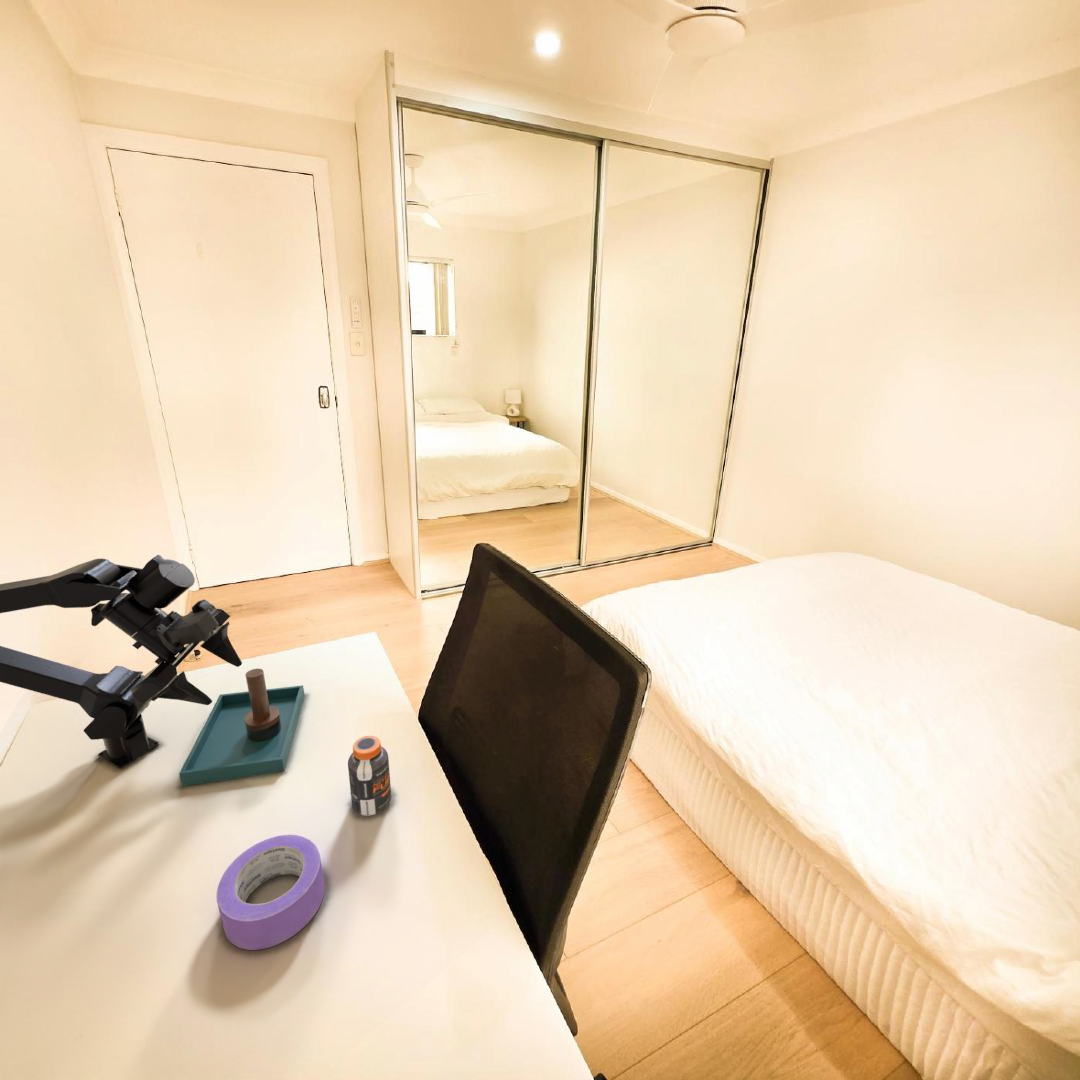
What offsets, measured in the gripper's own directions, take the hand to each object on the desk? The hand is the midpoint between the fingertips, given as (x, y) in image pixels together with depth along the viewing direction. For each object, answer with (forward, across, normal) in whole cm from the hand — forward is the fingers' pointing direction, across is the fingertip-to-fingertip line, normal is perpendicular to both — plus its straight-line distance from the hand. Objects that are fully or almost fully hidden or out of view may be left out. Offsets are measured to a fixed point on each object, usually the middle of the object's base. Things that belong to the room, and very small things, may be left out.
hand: (226, 683), depth 91 cm
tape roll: (+20, -30, -11) cm, 37 cm away
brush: (+12, +1, +5) cm, 13 cm away
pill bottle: (+26, -13, -15) cm, 33 cm away
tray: (+11, 0, +7) cm, 13 cm away
